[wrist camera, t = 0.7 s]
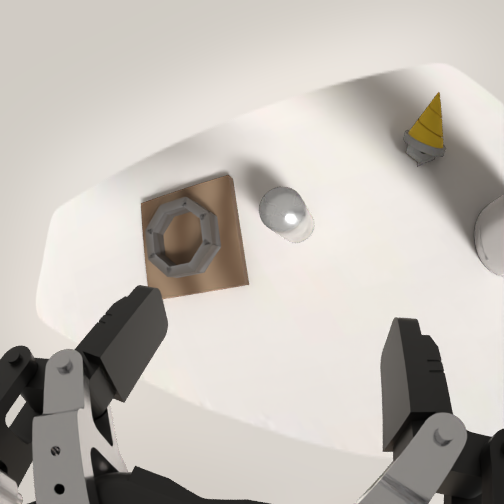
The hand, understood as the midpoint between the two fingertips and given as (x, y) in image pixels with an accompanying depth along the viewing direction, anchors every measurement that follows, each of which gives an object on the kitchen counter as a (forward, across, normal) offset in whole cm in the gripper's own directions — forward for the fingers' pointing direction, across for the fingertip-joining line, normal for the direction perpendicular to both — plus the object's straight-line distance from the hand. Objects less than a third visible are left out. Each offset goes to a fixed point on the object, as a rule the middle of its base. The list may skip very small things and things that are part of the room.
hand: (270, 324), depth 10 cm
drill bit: (+32, -13, -2) cm, 35 cm away
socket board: (+26, +15, +12) cm, 33 cm away
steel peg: (+27, +2, +8) cm, 28 cm away
